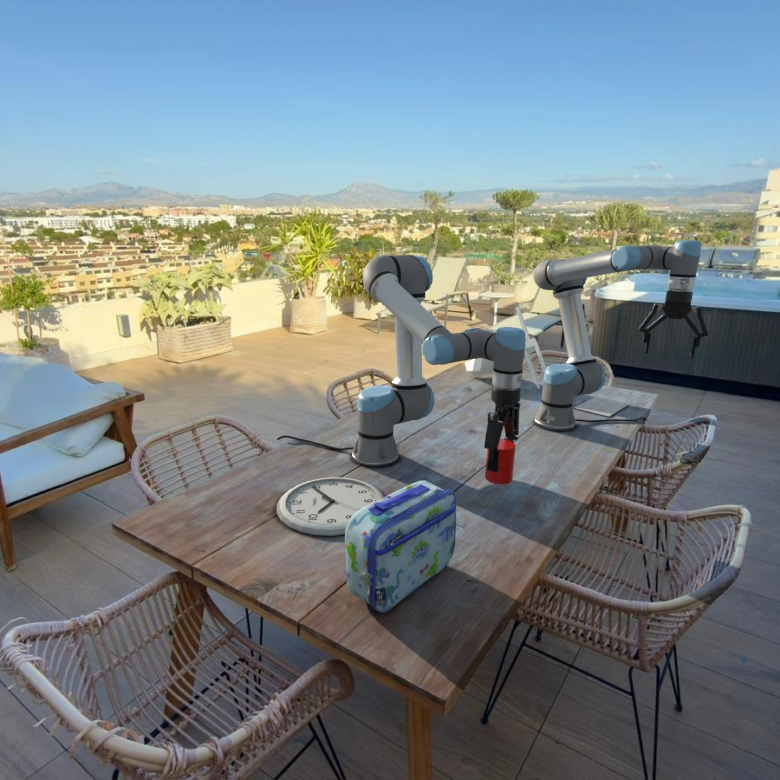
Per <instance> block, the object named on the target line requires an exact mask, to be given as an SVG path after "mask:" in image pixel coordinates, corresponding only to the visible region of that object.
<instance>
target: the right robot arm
mask: <svg viewBox="0 0 780 780" xmlns="http://www.w3.org/2000/svg"><path fill="white" fill-rule="evenodd" d="M701 251H702V242H701V241H700V240H686V239H685V240H684V239H683V240H682V239H681V240H680V239H677V240H676V241H675V243H674V245H670V246H668V245H655V244H648V245H647V244H645V245H631V244H629V245H628V244H627V245H622V246H619V247H618V248H615V249H611V250H606V251H603V252H602V251H601V252H596V253H592V254H587V255H583V256H578V257H573V258H567V259H546V260H543V261H541V262H540V263H538V264H537V266H536V267H535V268H534V271H533V280H534V283H535V285H536V286H537V287H538V288H540V289H541V290H544V291H552V296H553V298H555V299H556V300H557V301H558V308H559V312H560V319H561V323H562V324H561V325H562V330H563V335H564V340H565V346H566V353H567V357H568V359H567V361H566V362H565V363H554V364H550V365H548V366H546V370H545V374H544V373H543V378H542V379H543V381H542V382H543V383H542V392H541V402H540V405H539V407H538V410H537V411H536V413H535V416H534V424H535V425H536V426H537V427H539V428H542V429H544V430H549V431H556V432H567V431H572V430H574V429H575V428H576V422H583V423H602V422H638V421H640V420H644V421H648V419H647V418H646V417H645V416H639V417H637V418H634V419H632V418H631V419H628V418H627V419H624V418H623V419H622V418H606V419H581V418H575V417H576V416H575V413H574V407H573V405H574V398H575V397H579V396H586V395H591V394H593V393H596V392H599V391H600V390H601V389H602V388H603V387H604V385H605V382H606V371H605V369H604V367H603V366H602V365H601V364H598V362H597V358H596V357H595V356H593V354H592V351H591V345H590V340H589V334H588V328H587V323H586V318H585V312H584V307H583V301H582V294H583V292H584V291H585V289H584V286H585V285H586V283H587V280H588V278H592V277H599V276H605V275H609V274H610V275H611V274H616V273H623V272H628V271H637V270H662V271H663V270H664V271H669V276H668V281H667V286H666V287H667V289H668V290H666V292H665V293H666V294H665V300H664V303H663V304H658V303H654V304H653V306H652V309H651V311H650V312H649V314H648V315H647V316H646V317H645V319H644V320H643V321H642V323H641V324H640V325H639V327H638V330H639V332H641V333H643V337H642V342H643V343H644V344H645V347H644V353H645V354H648V353H649V348H650V343H651V342H650V341H651V337H652V334H651V332H652V330H654V329H655V328H656V327H657V326H659V325H660V324H661V323H662V322H664V321H665V320H667V318H668V319H669V320H682V319H684V321H685V322H686V323H687V325H688V326H689V328H690V329H691V330H692V332H693V333H694V334H695V335H694V336H692V340H691V346H690V351H689V357H690V358H694V357H695V351H696V348H699V347H700V344H701V340H702V338H704V337H708V336H709V332H708V329H707V325H706V323H705V321H704V318H703V315H702V307H701V306H700V305H696V306H692V301H693V295H694V292H693V291H694V289H695V286H696V285H695V284H696V278H697V272H698V268H699V262H700V258H701ZM661 309H662V311H663V313H662V314H661V315H660V316H659V317H658V318H656V319H655V320H654V321H653V322H651V324H650V325H648V324H649V323H650V321H651V320H652V319H653V317H655V315H656V313H657V312H660V310H661ZM691 312H693V314H695V315H696V319H697V321H698V324H699V327H700V330H699V329H698V328H697V326H696V325H695V323H694V322H693V321H692V320H691V318H690V317H689V314H690V313H691ZM647 325H648V326H647ZM700 331H701V332H700Z"/></svg>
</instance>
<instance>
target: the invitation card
mask: <svg viewBox="0 0 780 780" xmlns="http://www.w3.org/2000/svg"><path fill="white" fill-rule="evenodd" d="M628 406H629V404H627V403H623V402H618V401H614V400H609V399H605V398H601V397H596V396H593V397H592V398H590V399H588V400H586V401H584V402H582V403H580V404H578V405H575V406H574V407H573V409H575V410H581V411H584V412H587V413H593V414H596V415H600V416H604V417H608V418H609V417H611V416H613V415H614V414H616V413H617V412H619V411H621V410H623V409H624V408H626V407H628Z"/></svg>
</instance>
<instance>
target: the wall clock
mask: <svg viewBox="0 0 780 780" xmlns="http://www.w3.org/2000/svg"><path fill="white" fill-rule="evenodd" d="M384 497H386V495H385V494H384V493H383V492H382V491H381V490H380V489H379V488H377V487H376V486H374V485H372V484H371V483H369V482H365V481H362V480H359V479H355V478H349V477H338V476H337V477H335V476H333V477H332V476H331V477H322V478H317V479H312V480H307V481H305V482H302V483H299V484H297V485H295V486H293V487H292V488H290V489H288V490H287V491H286V492H285V493H284V494H283V495H281V496H280V498H279V499H278V502H277V503H276V515H277V517H278V518H279V520H280V521H281V522H282V523H283V524H285V525H286V526H287V527H288V528H290V529H293V530H295V531H297V532H299V533H303V534H308V535H312V536H327V537H328V536H329V537H331V536H332V537H333V536H342V535H345V531H346V527H347V524H348V522H349V520H350V518H351V517H352V515H353V514H354V513H355V512H357V511H358V510H360V509H362V508H364V507H366V506H368V505H370V504H372V503H374V502H376V501H378V500H380V499H382V498H384Z"/></svg>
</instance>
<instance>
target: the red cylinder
mask: <svg viewBox="0 0 780 780" xmlns="http://www.w3.org/2000/svg"><path fill="white" fill-rule="evenodd" d="M516 446H517V445H516V444H515V442H514V443H513V442H511V441H509V440H505V439H504V438H500V441H499V445H498V449H499V458H498V470H497V472H496V473H495V472H493V471H490V470H487V465H488V453H489V449H486V459H485V470H484V471H485V473H484V478H485V480H486V481H487V482H489V483H491V484H493V485H501V486H502V485H503V486H504V485H508V484H510V483H512V482H513V479H514V478H513V477H514V466H515V456H516Z"/></svg>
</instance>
